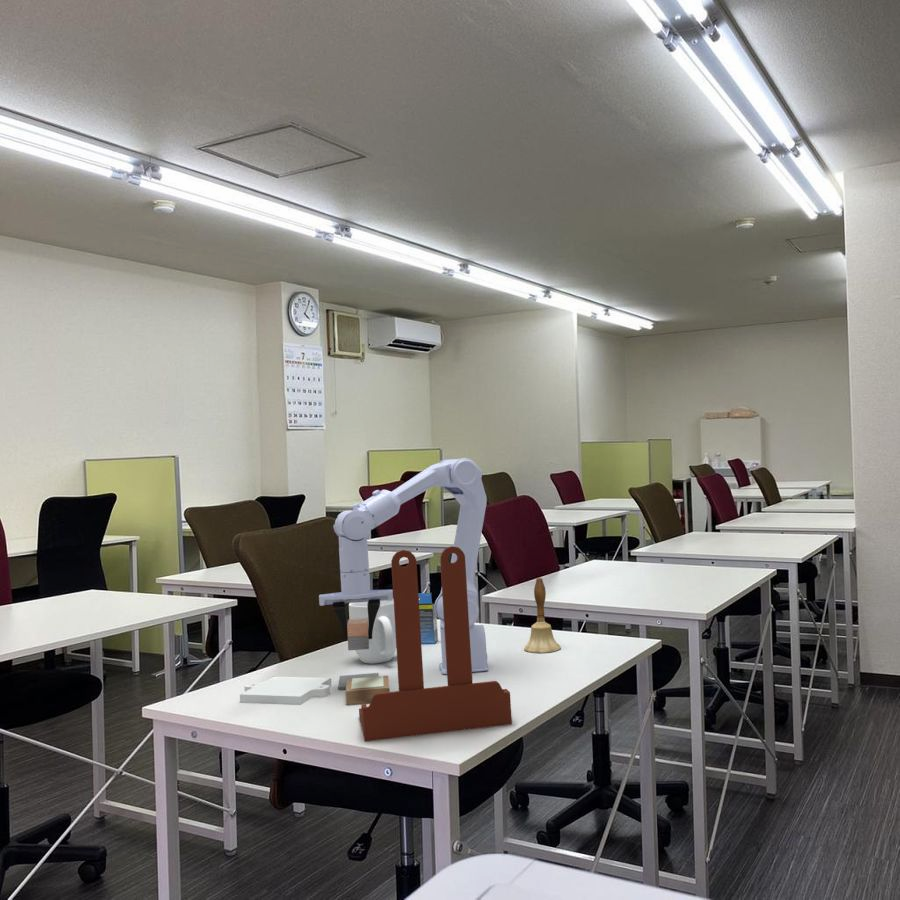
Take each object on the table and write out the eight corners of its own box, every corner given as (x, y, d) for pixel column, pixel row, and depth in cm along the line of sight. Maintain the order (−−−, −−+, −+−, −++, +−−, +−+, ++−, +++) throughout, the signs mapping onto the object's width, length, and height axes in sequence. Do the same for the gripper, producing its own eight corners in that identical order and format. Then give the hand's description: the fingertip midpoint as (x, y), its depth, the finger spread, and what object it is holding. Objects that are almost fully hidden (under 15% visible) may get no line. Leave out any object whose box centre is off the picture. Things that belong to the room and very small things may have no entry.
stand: (389, 688, 166) (388, 674, 166) (389, 701, 157) (389, 686, 157) (347, 691, 165) (347, 677, 165) (346, 705, 156) (345, 690, 156)
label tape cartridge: (438, 640, 207) (435, 590, 207) (434, 644, 203) (431, 592, 203) (403, 640, 209) (400, 590, 209) (399, 644, 205) (396, 593, 205)
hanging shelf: (494, 703, 152) (484, 536, 152) (511, 725, 139) (501, 543, 139) (359, 718, 148) (349, 546, 148) (364, 742, 135) (353, 554, 135)
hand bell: (537, 643, 197) (533, 575, 197) (568, 647, 192) (563, 576, 192) (516, 651, 191) (512, 580, 191) (547, 655, 185) (542, 582, 186)
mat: (378, 675, 176) (378, 672, 176) (378, 686, 167) (378, 684, 167) (339, 678, 176) (339, 675, 176) (338, 689, 167) (337, 687, 167)
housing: (369, 642, 172) (368, 617, 172) (368, 649, 166) (367, 623, 166) (349, 643, 171) (348, 619, 171) (348, 650, 165) (347, 624, 165)
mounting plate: (343, 687, 170) (342, 678, 170) (312, 707, 157) (312, 696, 157) (263, 685, 175) (263, 676, 175) (228, 704, 163) (228, 694, 163)
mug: (415, 664, 184) (412, 604, 184) (368, 672, 179) (364, 610, 179) (389, 652, 197) (386, 596, 197) (345, 659, 192) (341, 602, 192)
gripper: (391, 565, 173) (394, 632, 173) (319, 570, 172) (323, 637, 172) (391, 570, 166) (395, 639, 166) (316, 575, 165) (320, 645, 165)
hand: (358, 639), depth 168 cm, fingers closed on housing, 4 cm apart
